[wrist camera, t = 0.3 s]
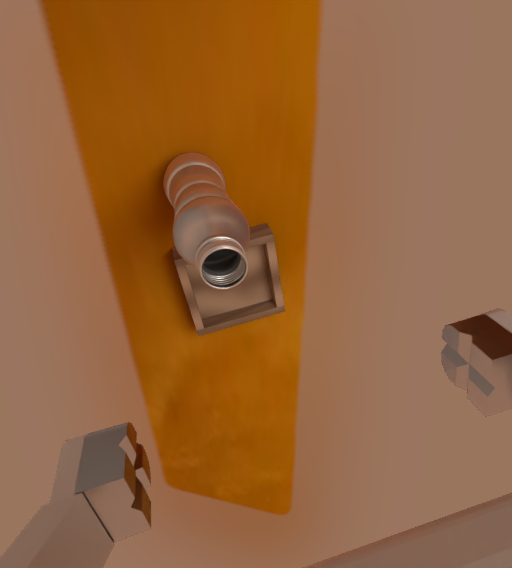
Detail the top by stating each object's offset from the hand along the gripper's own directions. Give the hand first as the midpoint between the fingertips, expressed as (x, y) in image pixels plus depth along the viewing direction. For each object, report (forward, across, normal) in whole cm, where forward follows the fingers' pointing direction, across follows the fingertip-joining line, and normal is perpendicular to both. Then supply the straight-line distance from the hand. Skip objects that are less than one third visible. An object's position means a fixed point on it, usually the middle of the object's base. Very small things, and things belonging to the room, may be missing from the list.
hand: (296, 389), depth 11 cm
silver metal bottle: (+40, 0, +4) cm, 40 cm away
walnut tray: (+41, -2, +18) cm, 45 cm away
